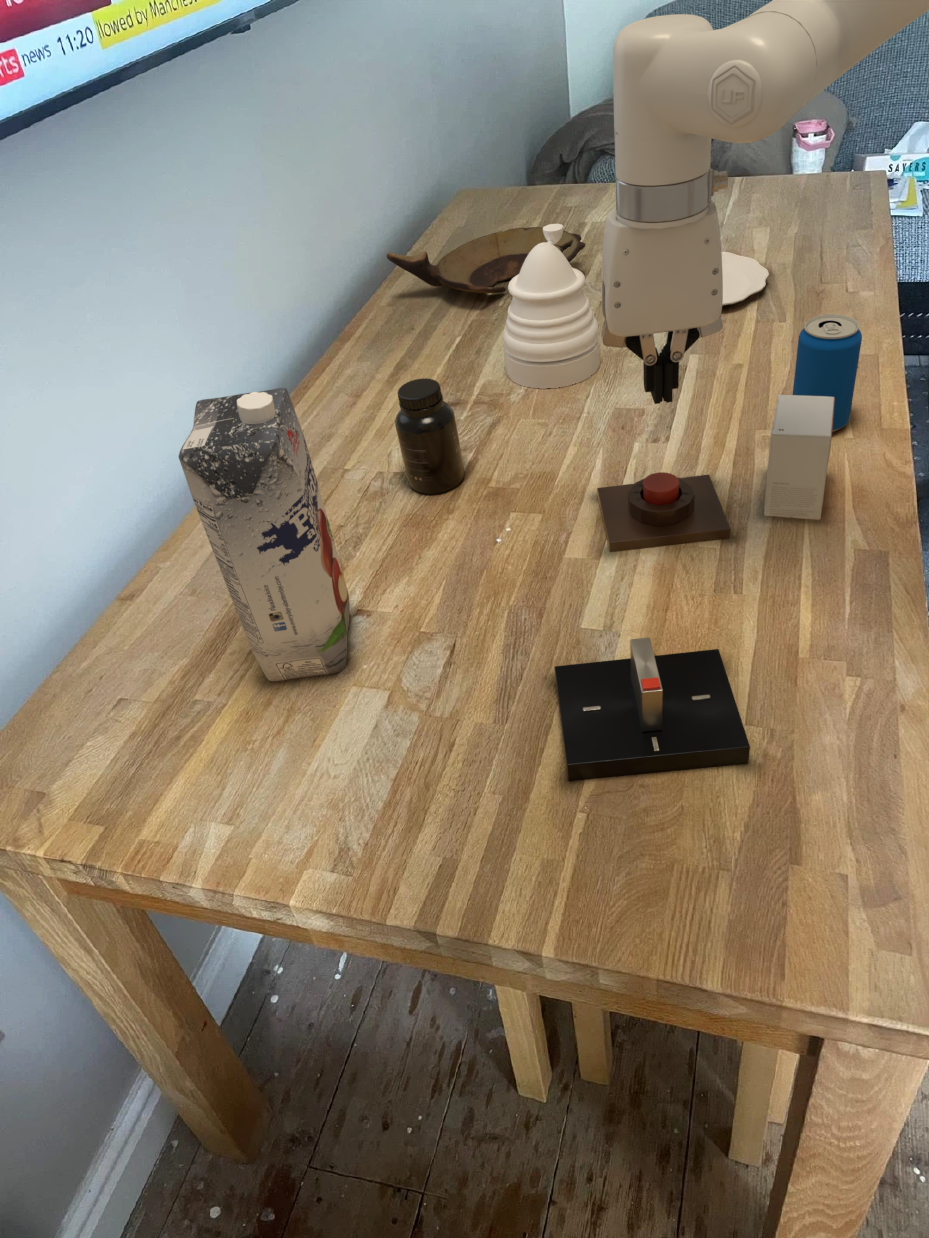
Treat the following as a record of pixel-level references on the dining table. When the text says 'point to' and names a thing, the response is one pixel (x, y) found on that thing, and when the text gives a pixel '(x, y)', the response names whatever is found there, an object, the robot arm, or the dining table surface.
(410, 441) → the supplement bottle
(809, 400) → the small box
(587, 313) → the honey pot
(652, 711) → the knob
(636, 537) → the button block
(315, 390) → the dining table surface
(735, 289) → the plate
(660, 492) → the button
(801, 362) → the beverage can
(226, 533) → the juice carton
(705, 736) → the console
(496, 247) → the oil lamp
